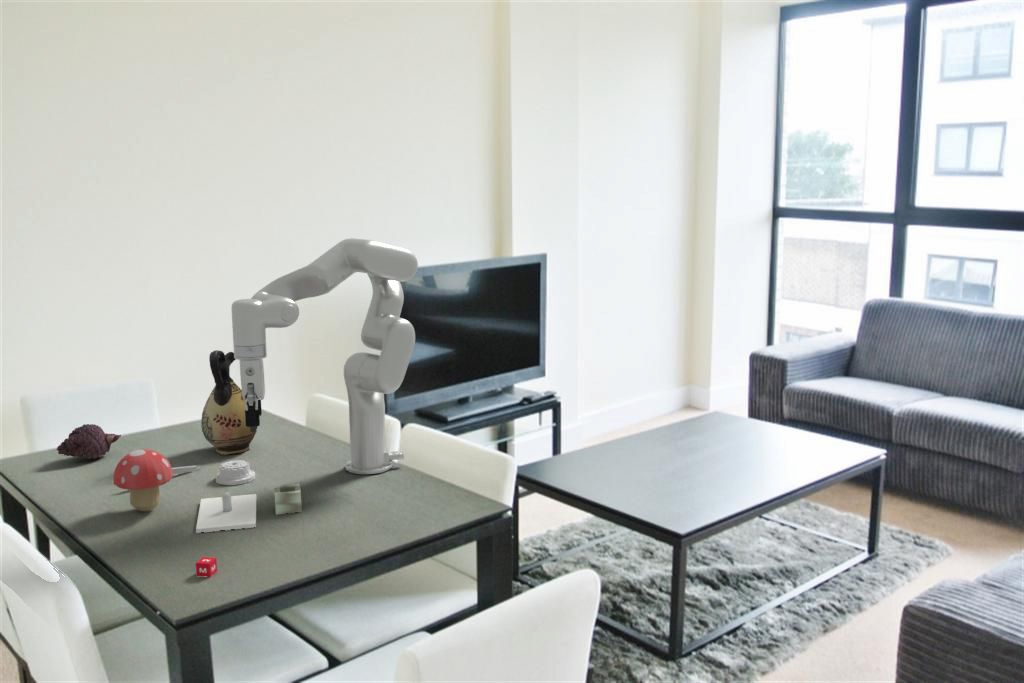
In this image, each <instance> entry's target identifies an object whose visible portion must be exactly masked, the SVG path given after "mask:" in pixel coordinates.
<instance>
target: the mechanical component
mask: <svg viewBox="0 0 1024 683" xmlns="http://www.w3.org/2000/svg"><path fill="white" fill-rule="evenodd" d="M250 467H251V466H250V463H249V461H246V460H242V459H240V460H239V459H236V460H229V461H227V462H223V463H221V464H220V465H219V473H217V474H216V475H215V483H217V484H218V485H222V486H237V485H238V484H239V485H243V483H244V484H247V482H248V483H250V482H253V481H254V480H255V479H256V472H255V471H254V470H251V468H250ZM253 479H254V480H253Z"/></svg>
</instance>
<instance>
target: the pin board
mask: <svg viewBox="0 0 1024 683" xmlns="http://www.w3.org/2000/svg"><path fill="white" fill-rule="evenodd" d="M197 515H198V516H197V520H196V521H197V522H196V526H195V534H202V533H201V532H204V533H212V532H213V531H214V532H221V531H220V530H225V531H232V530H231V529H235V530H243V529H242V528H245V529H251V528H252V529H253V528H254V527H255V528H257V494H256V493H253V494H243V495H242V494H240V495H232V494H231V493H230V492H227V491H226V492H224V493H223V494H222V496H220V497H207V498H201V499H200V504H199V509H198V514H197Z"/></svg>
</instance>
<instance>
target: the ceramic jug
mask: <svg viewBox="0 0 1024 683" xmlns="http://www.w3.org/2000/svg"><path fill="white" fill-rule="evenodd" d="M208 359H209V367H210V370H211V375H212V377H213V380H214V384H215V385H214V386H213V389H212V390H211V392H210V394H209V395H208V398H207V400H206V401H205V404H204V407H203V409H202V414H201V425H200V427H201V432H202V434H203V436H204V438H205V440H206V441H207V442H208V443H209V444H210V445H212V446H213V448H214V451H217V452H218V454H219V453H220V455H223V454H224V455H223V456H226V455H231V454H232V455H233V454H238V453H245V452H247V451H249V450H250V449H249V447H250V444H251V443H252V441H253V439H255V436H256V434H257V430H258V426H253V427H247V426H246V421H245V410H246V401H245V400H243V396H242V388H240V387H239V385H237V383H235V381H234V379H232V378H231V376H230V368H231V367H230V366H232V364H233V363H234V362H235V361H236V360H237V359H235V358H234V351H228V352H227V353H226V354H225V352H224V351H223V350H220V349H219V350H213V351H212V352H210V354H209V358H208ZM248 449H249V450H248ZM217 452H216V453H217Z"/></svg>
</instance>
